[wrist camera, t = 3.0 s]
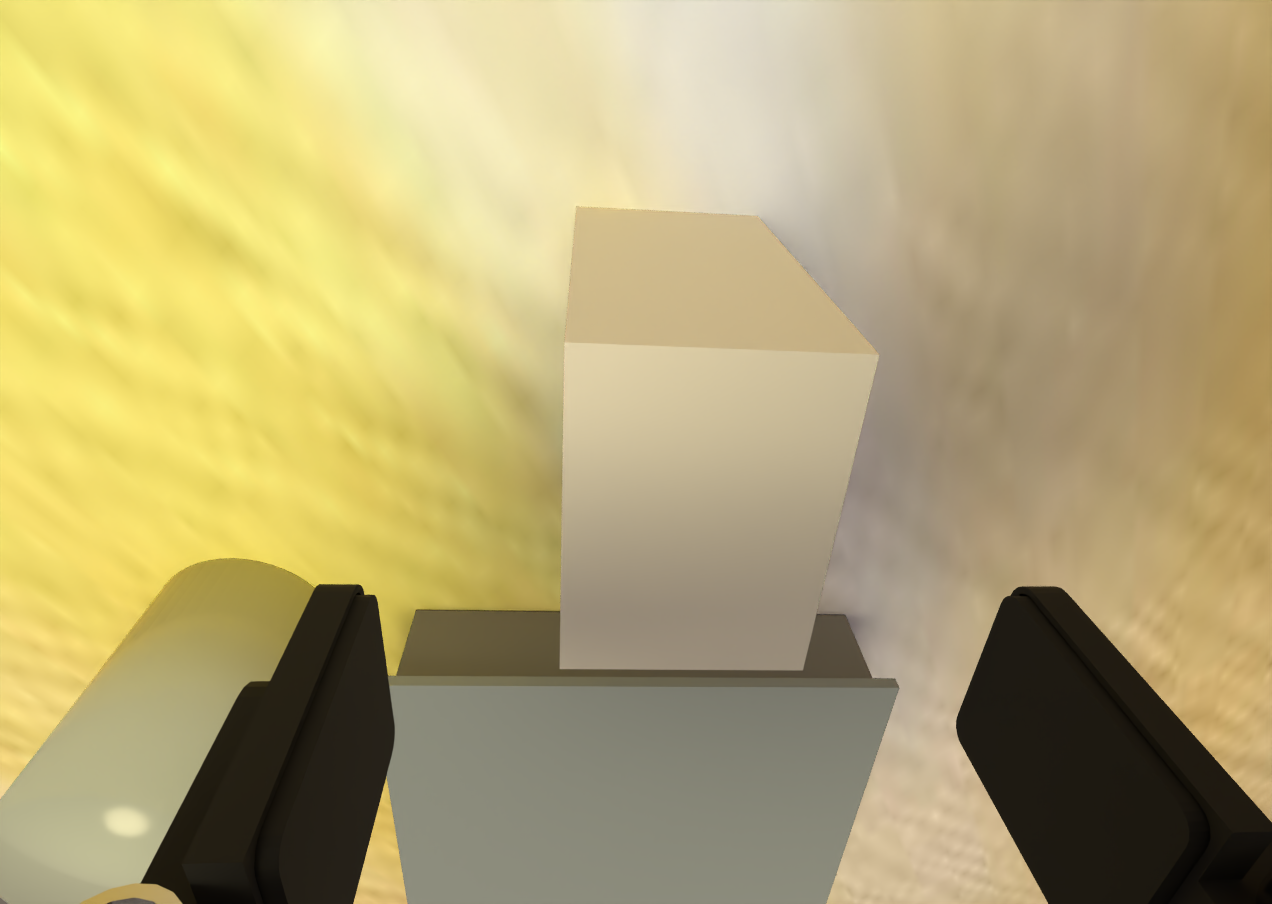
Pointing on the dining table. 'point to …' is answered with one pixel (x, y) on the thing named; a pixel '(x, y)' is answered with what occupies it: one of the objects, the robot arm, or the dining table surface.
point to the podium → (623, 769)
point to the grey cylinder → (143, 732)
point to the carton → (700, 443)
